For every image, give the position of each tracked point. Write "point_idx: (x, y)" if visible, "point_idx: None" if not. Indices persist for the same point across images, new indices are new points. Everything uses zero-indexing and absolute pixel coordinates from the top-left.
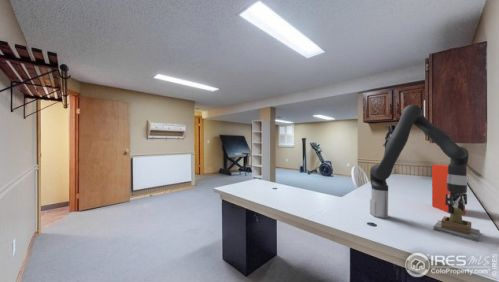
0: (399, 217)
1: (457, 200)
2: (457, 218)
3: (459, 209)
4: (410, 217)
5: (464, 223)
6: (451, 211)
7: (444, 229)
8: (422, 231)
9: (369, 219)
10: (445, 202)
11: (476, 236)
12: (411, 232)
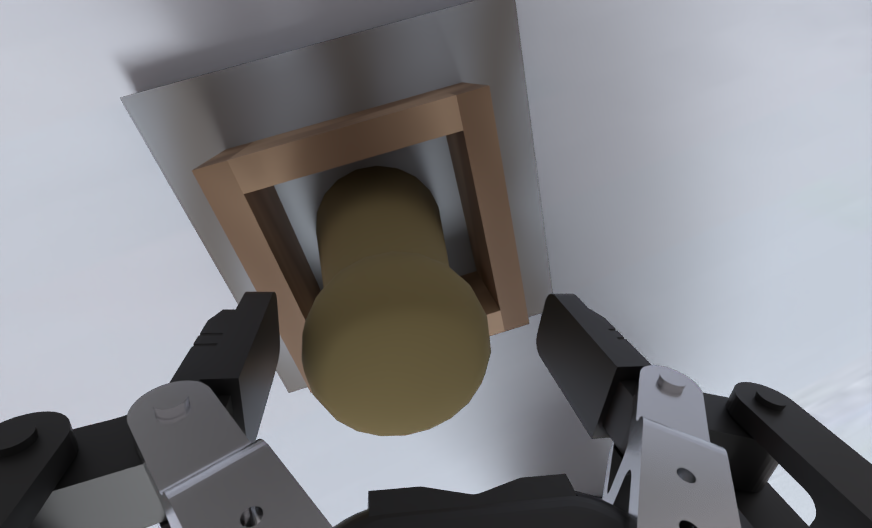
0: None
1: (708, 519)
2: (441, 252)
3: (425, 326)
4: (399, 486)
5: (266, 214)
6: (609, 327)
7: (532, 248)
8: (657, 300)
9: None
10: (774, 510)
11: (453, 22)
12: (741, 311)
